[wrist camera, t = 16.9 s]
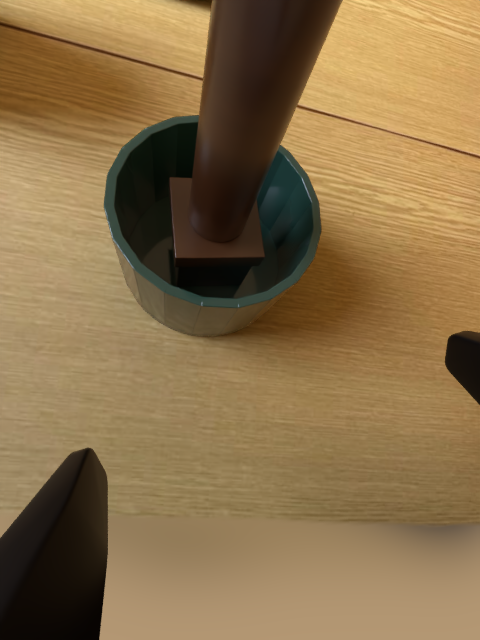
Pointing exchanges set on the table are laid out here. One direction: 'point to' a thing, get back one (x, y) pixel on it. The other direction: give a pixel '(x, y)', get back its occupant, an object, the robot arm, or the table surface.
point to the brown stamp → (241, 131)
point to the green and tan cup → (157, 245)
